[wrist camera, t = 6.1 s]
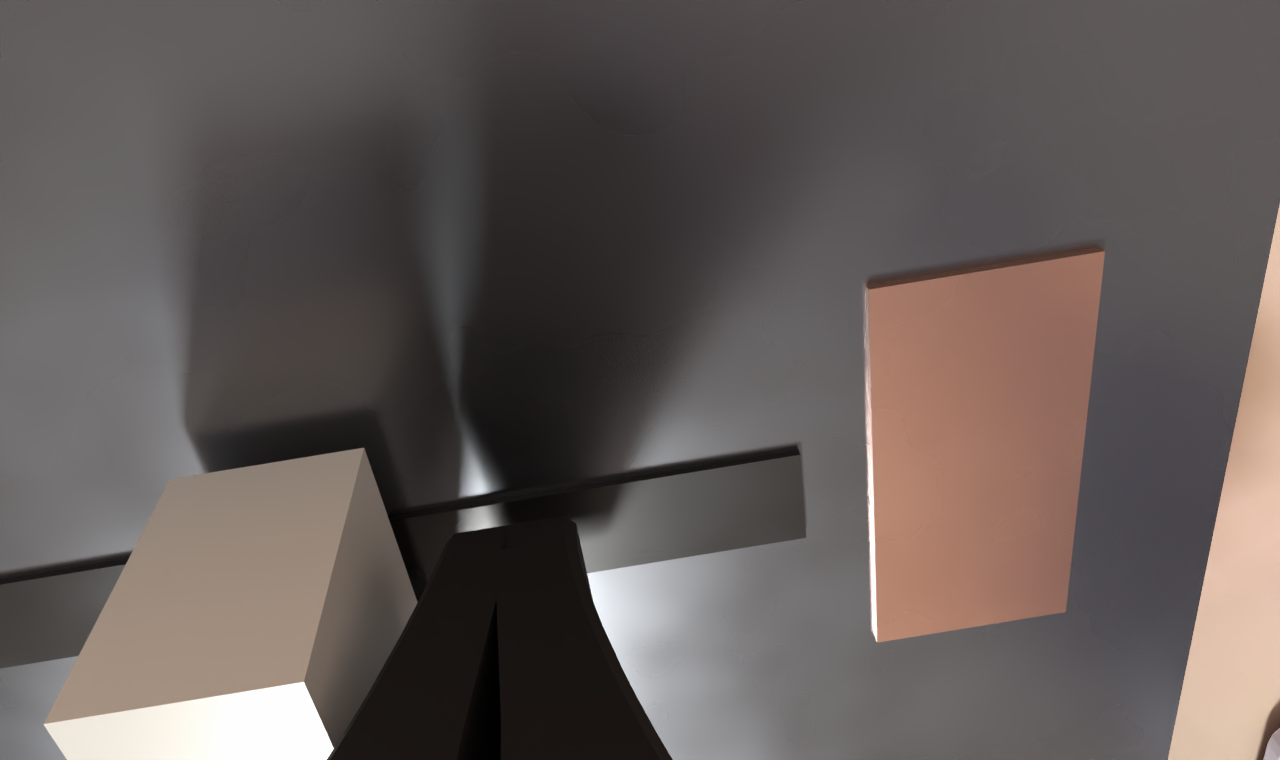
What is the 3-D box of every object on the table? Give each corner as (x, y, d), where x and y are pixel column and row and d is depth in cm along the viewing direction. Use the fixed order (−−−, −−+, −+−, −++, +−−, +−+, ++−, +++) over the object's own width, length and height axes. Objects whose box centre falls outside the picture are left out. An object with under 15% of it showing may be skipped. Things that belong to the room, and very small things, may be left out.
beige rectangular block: (364, 448, 10) (304, 682, 8) (448, 690, 12) (422, 945, 10) (169, 478, 10) (44, 724, 8) (283, 716, 12) (212, 979, 10)
